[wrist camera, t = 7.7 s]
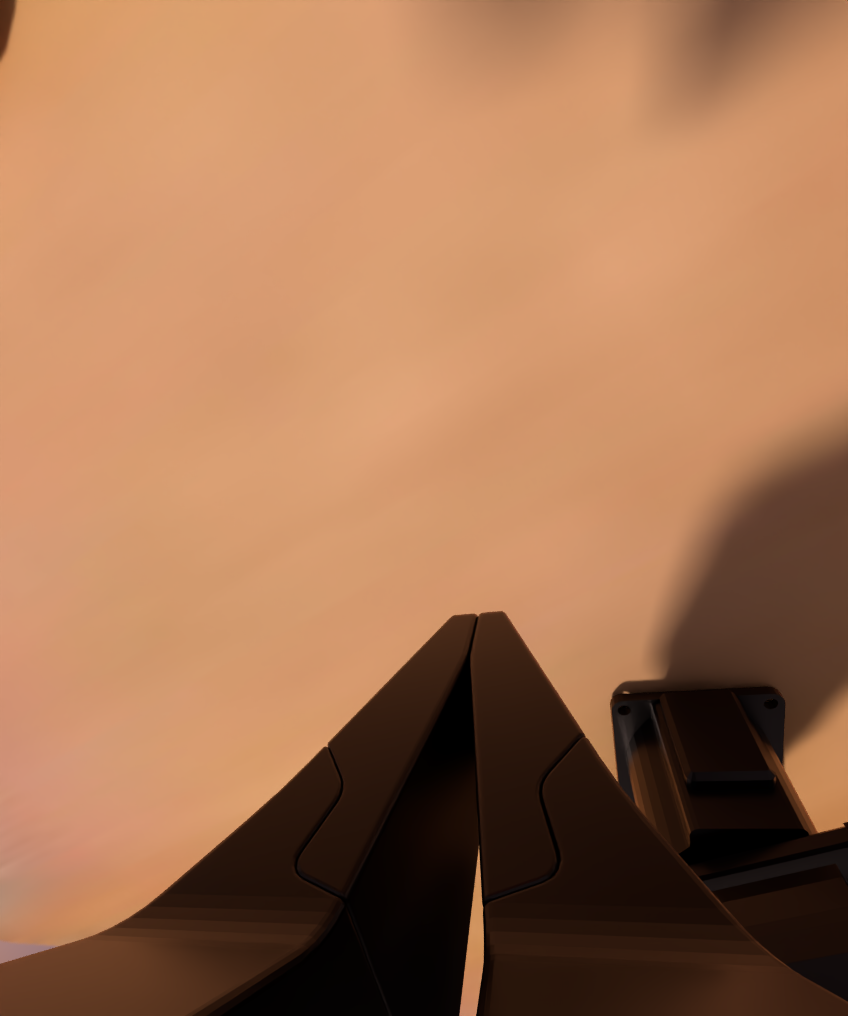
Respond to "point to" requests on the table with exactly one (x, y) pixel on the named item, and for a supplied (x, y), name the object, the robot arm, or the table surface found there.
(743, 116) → the table surface
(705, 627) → the table surface
